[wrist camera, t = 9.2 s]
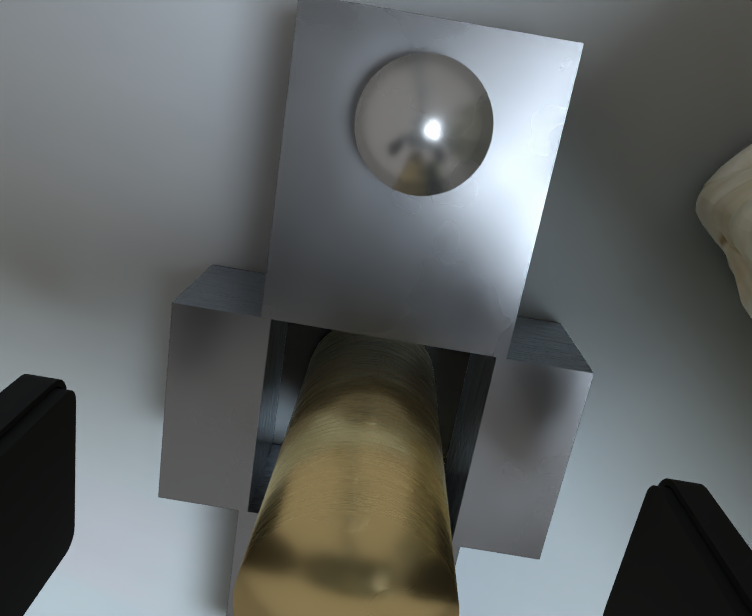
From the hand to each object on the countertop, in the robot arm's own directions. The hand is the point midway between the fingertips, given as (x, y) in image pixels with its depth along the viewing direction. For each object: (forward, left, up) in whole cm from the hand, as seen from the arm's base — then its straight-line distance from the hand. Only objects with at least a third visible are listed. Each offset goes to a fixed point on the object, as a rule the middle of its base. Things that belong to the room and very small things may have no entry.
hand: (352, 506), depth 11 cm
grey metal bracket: (+1, 0, -6) cm, 6 cm away
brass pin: (+1, 0, -6) cm, 6 cm away
